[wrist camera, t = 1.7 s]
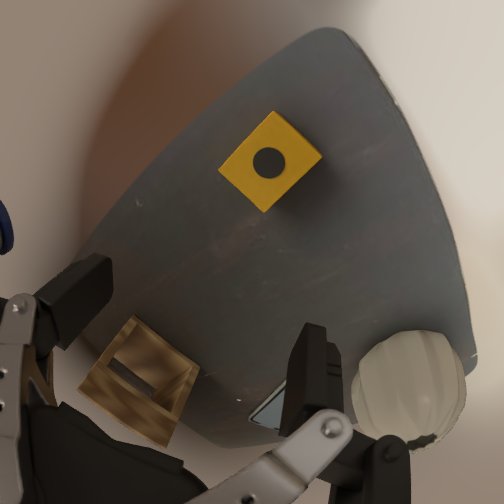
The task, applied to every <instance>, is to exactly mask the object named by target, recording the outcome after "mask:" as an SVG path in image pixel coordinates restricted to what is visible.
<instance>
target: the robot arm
mask: <svg viewBox="0 0 504 504" xmlns="http://www.w3.org/2000/svg"><path fill="white" fill-rule="evenodd" d="M3 246H4V235H3V230H2V226H1V223H0V250H1V249H2V248H3ZM112 294H113V273H112V260H111V259H110V258H109V257H106V256H103V255H101V254H98V253H92V254H91V255H90V256H88V257H87V258H86V259H84V260H80V261H78V262H75V263H73V264H71V265H69V266H68V267H67V268H66V269H64V270H63V272H61V273H59V274H58V275H57V277H54V278H53V279H52V280H51V281H49V282H48V283H47V284H46V285H44V286H43V287H42V288H41V289H40V290H38V291H37V292H36V293H35V294H34V295H32V296H31V295H30V294H25V293H23V294H18V295H15V296H13V297H12V298H11V299H10V300H8V299H5V298H1V297H0V504H291V503H292V502H294V501H295V500H296V499H297V498H298V497H299V496H300V495H301V494H302V493H304V491H305V490H306V489H307V488H308V485H309V484H310V482H311V481H313V480H314V479H315V478H319V479H321V480H323V481H326V482H329V483H331V488H330V495H329V502H328V504H411V473H410V453H409V449H408V446H407V444H406V443H405V442H404V441H403V440H402V439H401V438H400V437H398V436H395V435H384V436H382V437H380V438H379V439H378V440H376V439H374V438H371V437H369V436H366V435H364V434H362V433H359V432H357V431H356V430H354V429H353V426H352V423H351V421H350V420H349V418H348V417H347V416H346V415H345V414H344V406H343V383H342V377H341V376H342V368H341V355H340V353H339V351H338V349H337V347H336V345H335V344H334V343H330V342H327V338H326V328H325V327H322V326H319V325H315V324H311V323H305V325H304V327H303V329H302V331H301V333H300V335H299V337H298V339H297V341H296V343H295V345H294V347H293V349H292V352H291V355H290V358H289V362H288V369H287V377H286V385H285V393H284V400H283V407H282V414H281V421H280V428H279V435H278V436H283V437H287V438H286V439H285V440H284V441H283V442H281V443H280V444H279V445H278V446H276V447H275V448H274V449H272V450H271V451H268V452H266V453H264V454H263V455H261V456H260V457H259V458H257V459H256V460H254V461H253V462H251V463H250V464H249V465H247V466H246V467H244V468H243V469H241V470H240V471H238V472H237V473H235V474H234V475H232V476H231V477H229V478H228V479H226V480H224V481H223V482H221V483H219V484H218V485H216V486H215V487H213V488H211V489H208V488H207V487H206V485H205V484H204V483H203V482H202V481H201V480H200V479H199V478H198V477H197V476H195V475H194V474H192V473H191V472H190V471H188V470H187V469H185V468H184V467H183V464H184V462H183V460H180V459H177V458H175V457H172V456H169V455H167V454H164V453H161V452H159V451H156V450H154V449H151V448H148V447H143V446H138V445H133V444H129V443H124V442H120V441H116V440H114V439H112V438H111V437H110V436H108V435H107V434H106V433H105V432H104V431H103V430H101V429H100V428H99V427H98V426H97V425H96V424H95V423H94V422H93V421H92V420H91V419H90V418H88V417H87V416H86V415H84V414H82V413H80V412H79V411H77V410H76V409H74V408H72V407H70V406H69V405H68V404H66V403H65V402H63V401H62V402H61V404H60V405H59V407H58V406H57V402H56V399H55V396H54V389H53V351H52V349H53V347H54V346H55V345H56V346H58V347H59V348H61V349H63V350H64V351H65V350H66V349H67V348H68V346H69V345H70V344H71V343H72V342H73V341H74V340H75V338H76V337H77V336H78V335H79V334H80V333H81V332H82V330H83V329H84V328H85V327H86V326H87V325H88V324H89V323H90V322H91V320H92V319H93V318H94V317H95V316H96V315H97V314H98V313H99V312H100V311H101V310H102V309H103V307H104V306H105V305H106V304H107V303H108V302H109V301H110V299H111V297H112Z"/></svg>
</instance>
